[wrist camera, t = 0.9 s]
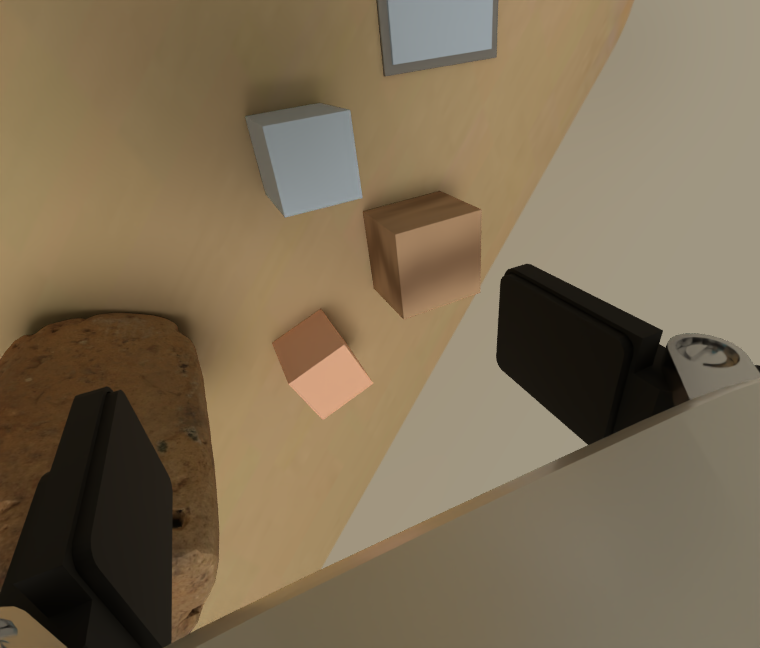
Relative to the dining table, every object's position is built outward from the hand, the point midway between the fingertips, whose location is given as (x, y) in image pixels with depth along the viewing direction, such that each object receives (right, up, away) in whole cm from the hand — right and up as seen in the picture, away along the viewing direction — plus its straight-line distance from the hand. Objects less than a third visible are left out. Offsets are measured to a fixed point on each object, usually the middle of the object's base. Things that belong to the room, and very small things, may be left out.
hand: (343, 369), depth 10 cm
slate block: (-5, +13, +19) cm, 24 cm away
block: (-18, -1, +21) cm, 28 cm away
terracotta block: (-5, -1, +27) cm, 28 cm away
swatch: (+5, +23, +18) cm, 30 cm away
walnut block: (+3, +8, +26) cm, 28 cm away
